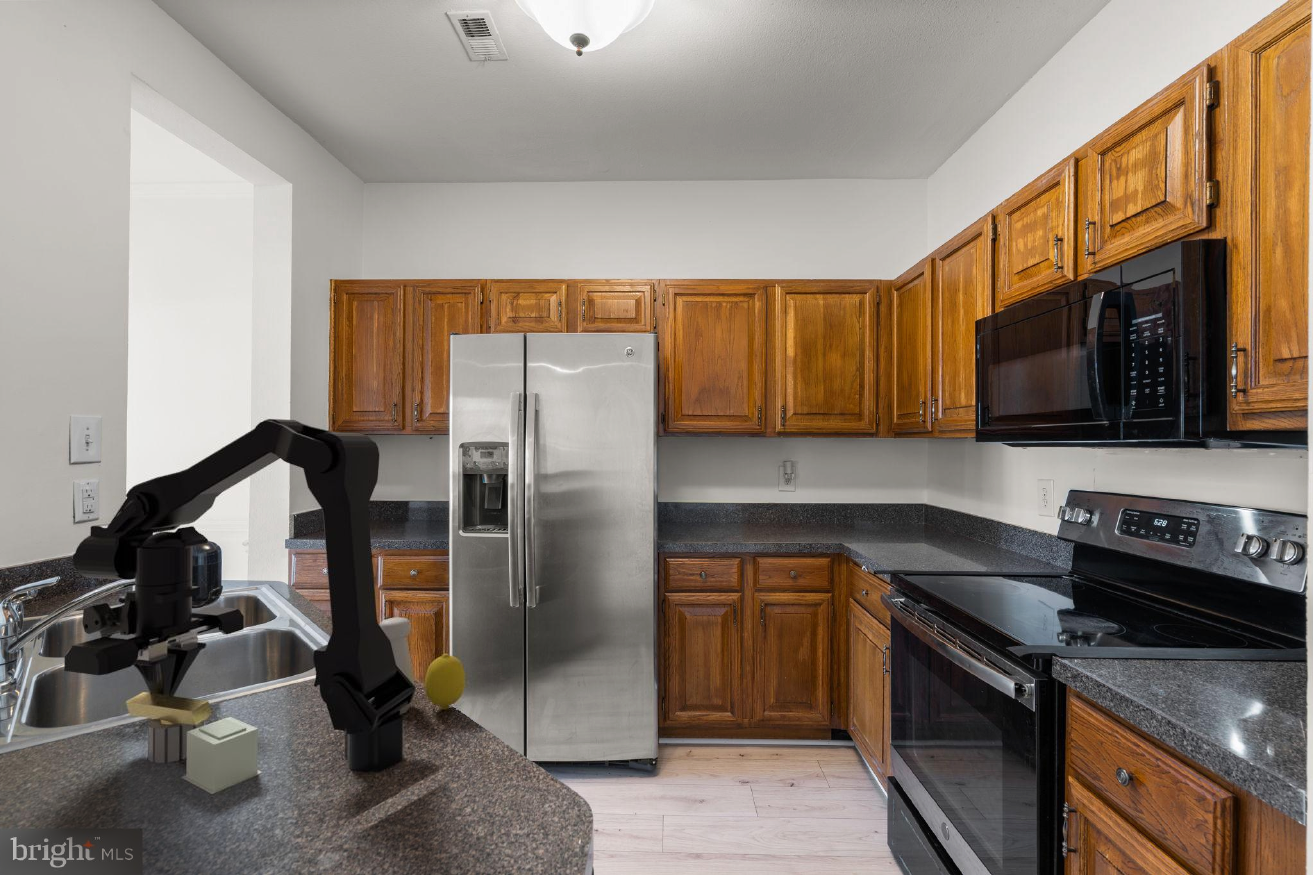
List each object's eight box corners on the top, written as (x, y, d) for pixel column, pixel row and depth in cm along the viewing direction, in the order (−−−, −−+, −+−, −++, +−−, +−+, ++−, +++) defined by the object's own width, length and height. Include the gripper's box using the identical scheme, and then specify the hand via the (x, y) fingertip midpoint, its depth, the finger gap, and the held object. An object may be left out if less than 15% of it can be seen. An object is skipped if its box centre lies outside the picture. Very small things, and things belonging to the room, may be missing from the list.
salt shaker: (400, 720, 89) (400, 626, 89) (363, 716, 91) (363, 623, 91) (423, 703, 95) (424, 615, 95) (388, 700, 96) (389, 613, 96)
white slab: (283, 772, 75) (283, 729, 75) (186, 815, 67) (186, 766, 67) (207, 737, 84) (207, 698, 84) (113, 771, 75) (113, 728, 75)
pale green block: (257, 772, 73) (258, 726, 73) (214, 791, 69) (214, 742, 69) (229, 759, 76) (230, 714, 76) (186, 776, 72) (186, 729, 72)
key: (222, 749, 77) (208, 700, 76) (206, 760, 75) (191, 711, 74) (157, 737, 82) (143, 692, 80) (140, 748, 80) (125, 701, 79)
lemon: (426, 720, 90) (426, 662, 90) (423, 705, 95) (423, 650, 95) (467, 713, 92) (467, 657, 92) (462, 699, 97) (463, 645, 97)
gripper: (184, 563, 92) (182, 673, 92) (29, 594, 74) (27, 730, 74) (247, 568, 89) (246, 681, 89) (103, 601, 71) (101, 742, 71)
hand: (162, 705), depth 81 cm, fingers closed
